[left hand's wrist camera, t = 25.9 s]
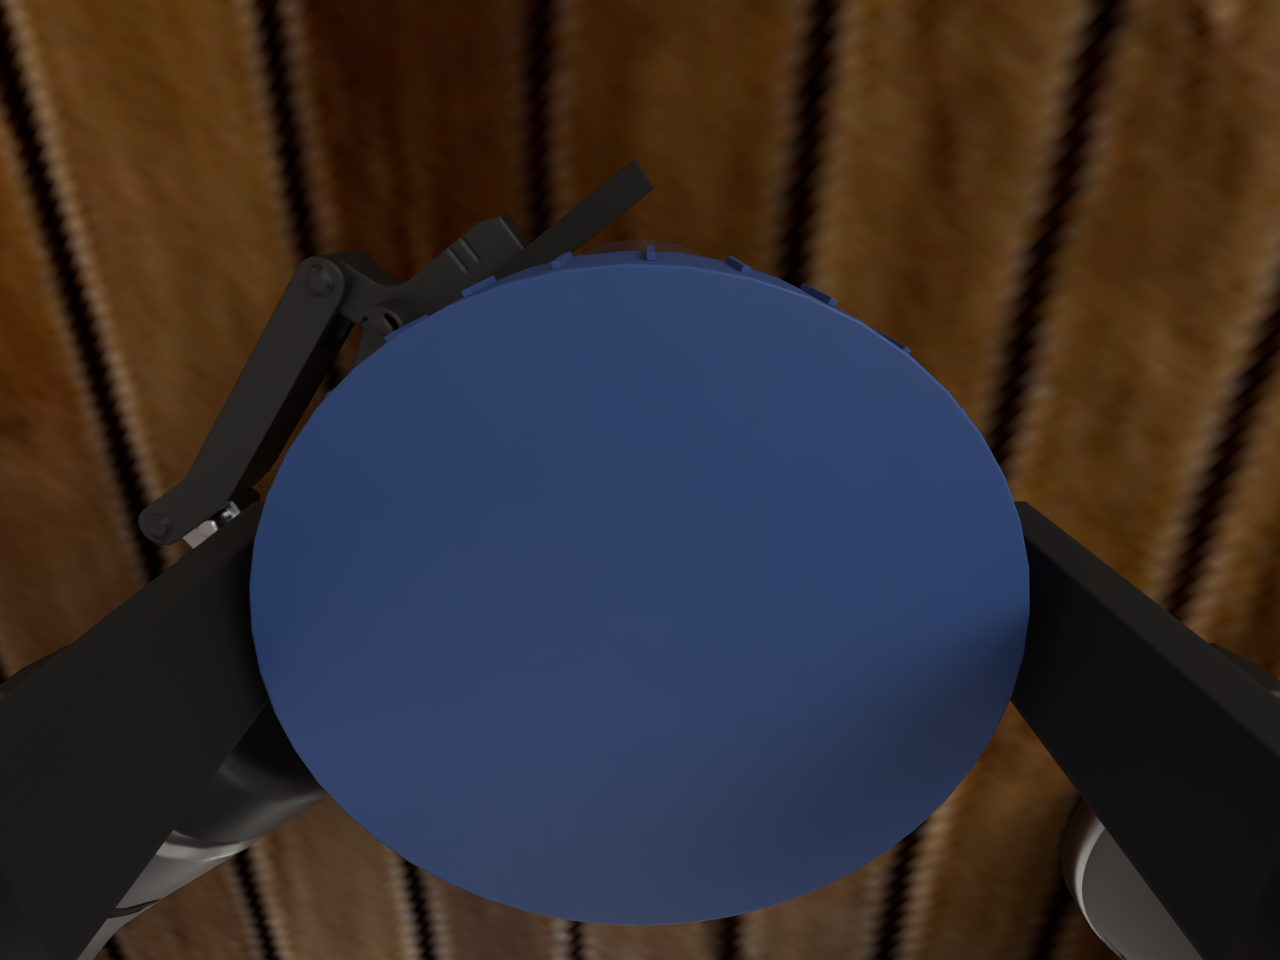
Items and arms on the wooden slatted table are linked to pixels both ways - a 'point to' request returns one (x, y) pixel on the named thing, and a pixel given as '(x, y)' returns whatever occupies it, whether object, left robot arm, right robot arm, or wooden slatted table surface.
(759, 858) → the lid
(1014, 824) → the wooden slatted table surface
